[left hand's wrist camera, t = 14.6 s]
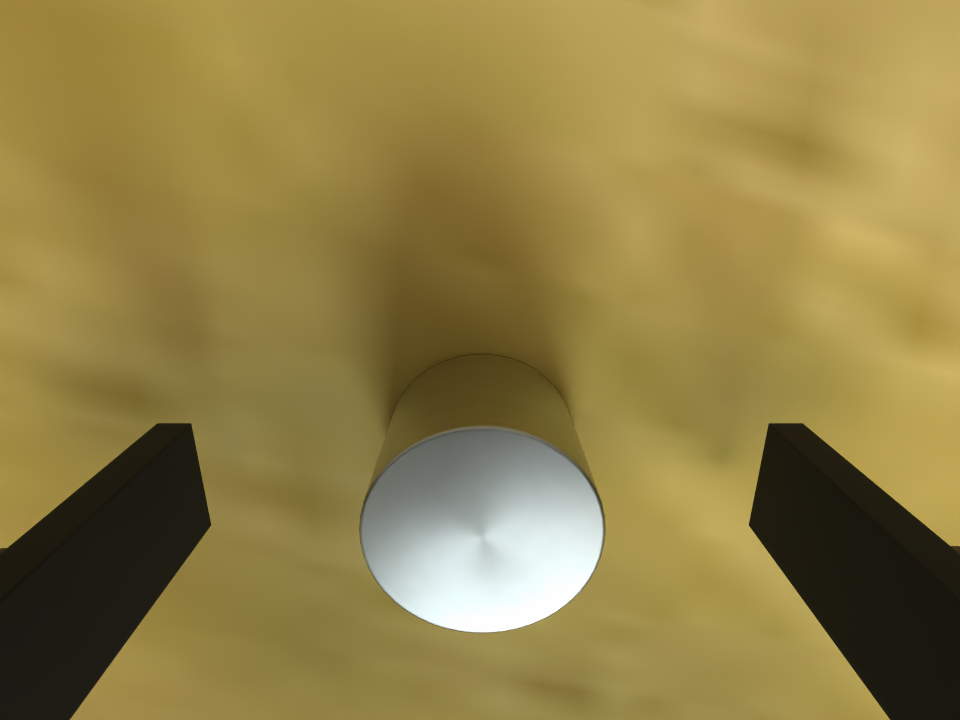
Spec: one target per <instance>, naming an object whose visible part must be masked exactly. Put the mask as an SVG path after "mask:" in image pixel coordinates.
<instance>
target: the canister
mask: <svg viewBox="0 0 960 720" xmlns="http://www.w3.org/2000/svg"><path fill="white" fill-rule="evenodd" d="M605 531H606V527H605V514H604V510H603V505H602V501H601V499H600V496H599V493H598V490H597V488H596V485H595V482H594V479H593V477H592V474H591V471H590V468H589V466H588V463H587V460H586V457H585V455H584V452H583V449H582V446H581V444H580V441H579V438H578V435H577V433H576V430H575V427H574V424H573V422H572V419H571V416H570V413H569V411H568V408H567V406H566V404H565V402H564V400H563V398H562V396H561V395H560V393H559V392H558V391H557V389H556V388H555V387H554V386H553V385H552V384H551V383H550V382H549V381H548V380H547V379H546V378H545V377H544V376H543V375H541V374H540V373H539V372H537V371H536V370H534V369H533V368H531V367H529V366H527V365H525V364H523V363H521V362H518V361H516V360H513V359H509V358H506V357H502V356H495V355H468V356H462V357H458V358H454V359H450V360H448V361H445V362H442V363H440V364H438V365H436V366H434V367H432V368H430V369H429V370H427V371H426V372H424V373H423V374H422V375H420V376H419V377H418V378H417V379H416V380H415V381H414V382H413V383H412V384H411V385H410V386H409V387H408V388H407V390H406V391H405V392H404V393H403V395H402V397H401V398H400V400H399V402H398V403H397V406H396V408H395V411H394V413H393V416H392V419H391V422H390V425H389V428H388V431H387V434H386V437H385V440H384V443H383V445H382V448H381V451H380V454H379V457H378V460H377V463H376V466H375V469H374V472H373V475H372V478H371V481H370V484H369V487H368V490H367V493H366V496H365V499H364V502H363V506H362V510H361V514H360V525H359V532H360V543H361V547H362V551H363V556H364V558H365V561H366V563H367V566H368V568H369V570H370V572H371V574H372V575H373V577H374V579H375V581H376V582H377V583H378V585H379V586H380V587H381V588H382V590H383V591H384V592H385V593H386V594H387V595H388V596H389V597H390V598H391V599H392V600H393V601H394V602H395V603H396V604H398V605H399V606H400V607H402V608H403V609H404V610H406V611H407V612H409V613H411V614H412V615H414V616H416V617H417V618H420V619H422V620H424V621H426V622H428V623H431V624H434V625H437V626H440V627H443V628H446V629H451V630H456V631H462V632H471V633H492V632H502V631H508V630H513V629H518V628H521V627H524V626H527V625H531V624H533V623H536V622H538V621H540V620H542V619H545V618H547V617H548V616H550V615H552V614H554V613H555V612H557V611H559V610H560V609H561V608H563V607H564V606H565V605H567V604H568V603H569V602H570V601H571V600H572V599H573V598H575V597H576V596H577V595H578V594H579V593H580V591H581V590H582V589H583V588H584V586H585V585H586V584H587V583H588V581H589V580H590V578H591V576H592V575H593V573H594V571H595V570H596V567H597V565H598V562H599V560H600V558H601V554H602V550H603V546H604V541H605Z"/></svg>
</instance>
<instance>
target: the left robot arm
mask: <svg viewBox="0 0 960 720" xmlns="http://www.w3.org/2000/svg"><path fill="white" fill-rule="evenodd" d="M210 526H211V522H210V517H209V512H208V507H207V502H206V496H205V491H204V486H203V481H202V476H201V471H200V466H199V461H198V456H197V451H196V446H195V440H194V435H193V430H192V425H191V423H157V424H156V425H155V426H154V427H153V428H151V429H150V430H149V431H148V432H147V433H145V434H144V435H143V436H142V437H141V438H139V439H138V440H137V441H136V442H135V443H133V444H132V445H131V446H130V447H129V448H127V449H126V450H125V451H124V452H123V453H121V454H120V455H119V456H118V457H116V458H115V459H114V460H113V461H112V462H110V463H109V464H108V465H107V466H106V467H104V468H103V469H102V470H101V471H100V472H98V473H97V474H96V475H95V476H94V477H92V478H91V479H90V480H89V481H88V482H86V483H85V484H84V485H83V486H82V487H80V488H79V489H78V490H77V491H76V492H74V493H73V494H72V495H71V496H70V497H68V498H67V499H66V500H65V501H64V502H62V503H61V504H60V505H59V506H58V507H56V508H55V509H54V510H53V511H52V512H50V513H49V514H48V515H47V516H45V517H44V518H43V519H42V520H41V521H39V522H38V523H37V524H36V525H35V526H33V527H32V528H31V529H30V530H29V531H27V532H26V533H25V534H24V535H23V536H21V537H20V538H19V539H18V540H17V541H15V542H14V543H13V544H12V545H11V546H9V547H8V548H1V549H0V720H70V719H71V717H72V716H73V714H74V713H75V712H76V710H77V709H78V708H79V706H80V705H81V703H82V702H83V701H84V699H85V698H86V697H87V695H88V694H89V692H90V691H91V690H92V688H93V687H94V686H95V684H96V683H97V681H98V680H99V679H100V677H101V676H102V675H103V673H104V672H105V670H106V669H107V668H108V666H109V665H110V664H111V662H112V661H113V659H114V658H115V657H116V655H117V654H118V653H119V651H120V650H121V648H122V647H123V646H124V644H125V643H126V642H127V640H128V639H129V637H130V636H131V635H132V633H133V632H134V631H135V629H136V628H137V626H138V625H139V624H140V622H141V621H142V620H143V618H144V617H145V615H146V614H147V613H148V611H149V610H150V609H151V607H152V606H153V604H154V603H155V602H156V600H157V599H158V598H159V596H160V595H161V593H162V592H163V591H164V589H165V588H166V587H167V585H168V584H169V582H170V581H171V580H172V578H173V577H174V576H175V574H176V573H177V571H178V570H179V569H180V567H181V566H182V565H183V563H184V562H185V560H186V559H187V558H188V556H189V555H190V554H191V552H192V551H193V549H194V548H195V547H196V545H197V544H198V543H199V541H200V540H201V538H202V537H203V536H204V534H205V533H206V532H207V530H208V529H209V527H210ZM749 526H750V527H751V529H752V530H753V532H754V533H755V534H756V536H757V537H758V538H759V540H760V541H761V543H762V544H763V545H764V547H765V548H766V549H767V551H768V552H769V554H770V555H771V556H772V558H773V559H774V560H775V562H776V563H777V565H778V566H779V567H780V569H781V570H782V571H783V573H784V574H785V576H786V577H787V578H788V580H789V581H790V582H791V584H792V585H793V587H794V588H795V589H796V591H797V592H798V593H799V595H800V596H801V598H802V599H803V600H804V602H805V603H806V604H807V606H808V607H809V609H810V610H811V611H812V613H813V614H814V615H815V617H816V618H817V620H818V621H819V622H820V624H821V625H822V626H823V628H824V629H825V631H826V632H827V633H828V635H829V636H830V637H831V639H832V640H833V642H834V643H835V644H836V646H837V647H838V648H839V650H840V651H841V653H842V654H843V655H844V657H845V658H846V659H847V661H848V662H849V664H850V665H851V666H852V668H853V669H854V670H855V672H856V673H857V675H858V676H859V677H860V679H861V680H862V681H863V683H864V684H865V686H866V687H867V688H868V690H869V691H870V692H871V694H872V695H873V697H874V698H875V699H876V701H877V702H878V703H879V705H880V706H881V708H882V709H883V710H884V712H885V713H886V714H887V716H888V717H889V719H890V720H960V546H949V545H948V544H947V543H946V542H945V541H943V540H942V539H941V538H940V537H939V536H937V535H936V534H935V533H934V532H933V531H931V530H930V529H929V528H928V527H927V526H925V525H924V524H923V523H922V522H921V521H919V520H918V519H917V518H916V517H915V516H913V515H912V514H911V513H910V512H908V511H907V510H906V509H905V508H904V507H902V506H901V505H900V504H899V503H898V502H896V501H895V500H894V499H893V498H892V497H890V496H889V495H888V494H887V493H886V492H884V491H883V490H882V489H881V488H880V487H878V486H877V485H876V484H875V483H874V482H872V481H871V480H870V479H869V478H868V477H866V476H865V475H864V474H863V473H862V472H860V471H859V470H858V469H857V468H856V467H854V466H853V465H852V464H851V463H850V462H848V461H847V460H846V459H845V458H844V457H842V456H841V455H840V454H839V453H837V452H836V451H835V450H834V449H833V448H831V447H830V446H829V445H828V444H827V443H825V442H824V441H823V440H822V439H821V438H819V437H818V436H817V435H816V434H815V433H813V432H812V431H811V430H810V429H809V428H807V427H806V426H805V425H804V424H803V423H769V425H768V430H767V435H766V440H765V446H764V451H763V456H762V461H761V466H760V471H759V476H758V481H757V486H756V491H755V496H754V502H753V507H752V512H751V517H750V522H749Z"/></svg>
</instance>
